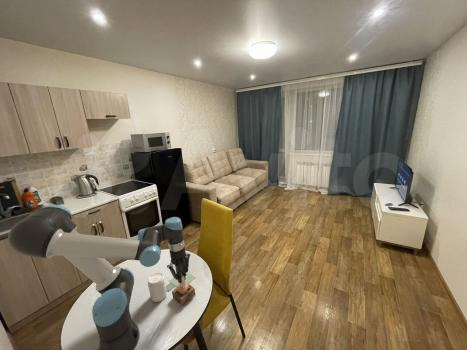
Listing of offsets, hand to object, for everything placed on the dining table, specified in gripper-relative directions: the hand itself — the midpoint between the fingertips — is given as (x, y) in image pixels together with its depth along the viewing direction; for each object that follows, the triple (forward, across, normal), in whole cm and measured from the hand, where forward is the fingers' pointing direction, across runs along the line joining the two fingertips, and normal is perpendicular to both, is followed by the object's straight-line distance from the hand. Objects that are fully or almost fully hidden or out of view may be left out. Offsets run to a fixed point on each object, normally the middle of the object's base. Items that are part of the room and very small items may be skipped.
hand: (182, 286), depth 102 cm
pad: (+7, +7, +10) cm, 14 cm away
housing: (+7, 0, 0) cm, 7 cm away
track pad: (+7, -1, +12) cm, 14 cm away
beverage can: (+7, -8, +12) cm, 16 cm away
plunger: (+6, 0, 0) cm, 6 cm away
